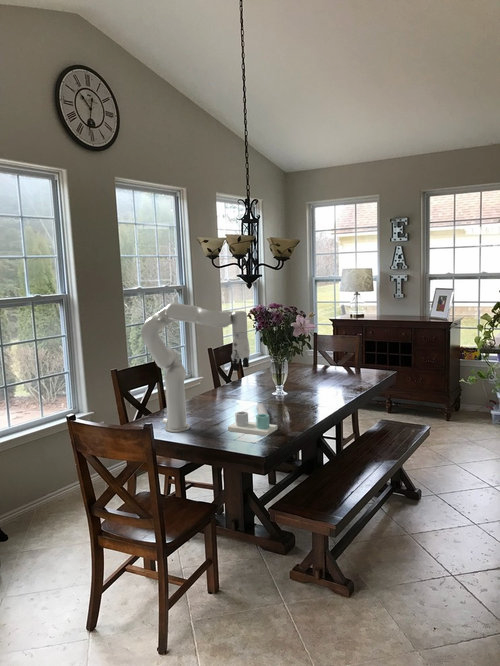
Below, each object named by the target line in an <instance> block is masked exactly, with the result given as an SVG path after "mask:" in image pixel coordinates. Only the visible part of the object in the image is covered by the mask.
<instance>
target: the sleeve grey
mask: <svg viewBox="0 0 500 666" xmlns="http://www.w3.org/2000/svg"><path fill="white" fill-rule="evenodd" d="M234 415H235V416H234V417H235V423H236V426H240V427H242V426H247V425H248V422H249V413H248V412H247V411H237V412H235V413H234Z"/></svg>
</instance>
